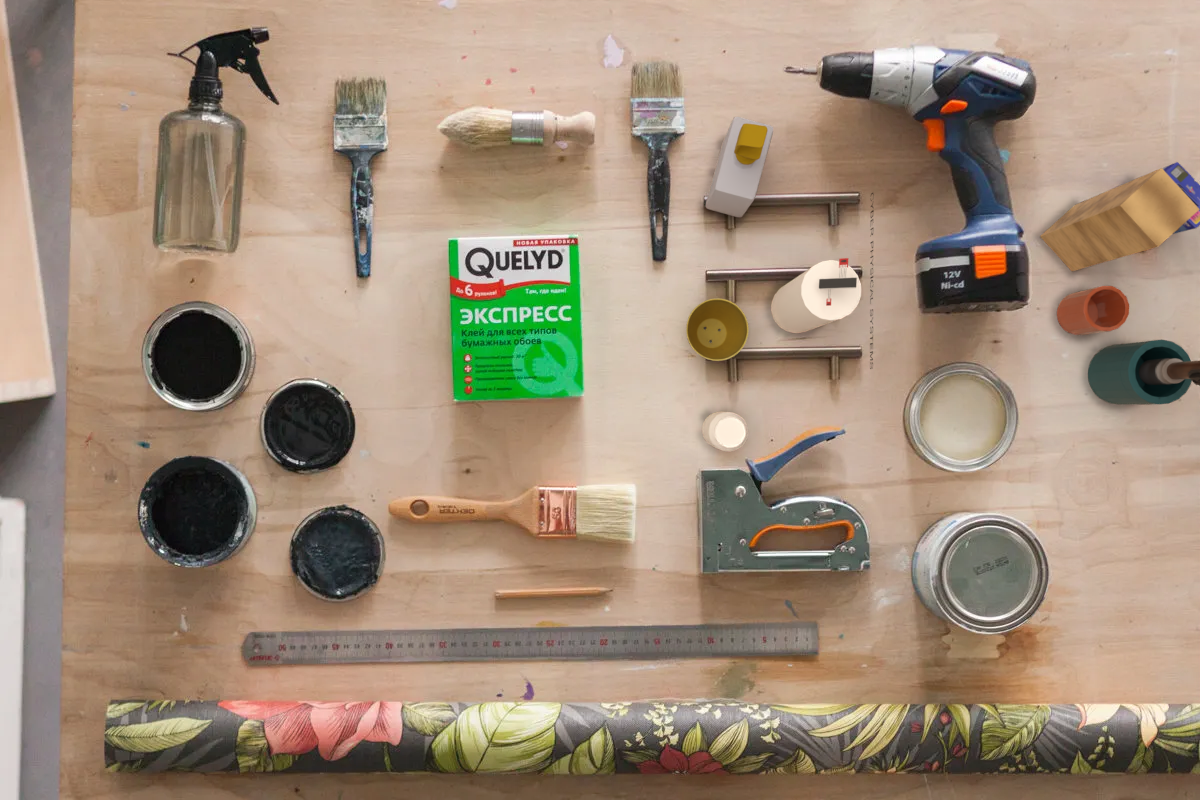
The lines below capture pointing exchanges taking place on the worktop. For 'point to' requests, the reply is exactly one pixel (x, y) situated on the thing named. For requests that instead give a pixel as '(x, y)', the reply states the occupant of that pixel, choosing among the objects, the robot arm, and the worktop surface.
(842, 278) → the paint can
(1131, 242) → the riser
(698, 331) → the flower pot
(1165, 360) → the brush
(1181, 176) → the ink cartridge box
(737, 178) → the soap bottle
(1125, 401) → the jar
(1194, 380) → the robot arm
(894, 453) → the worktop surface
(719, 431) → the cream round cylinder
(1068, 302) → the brush pot
